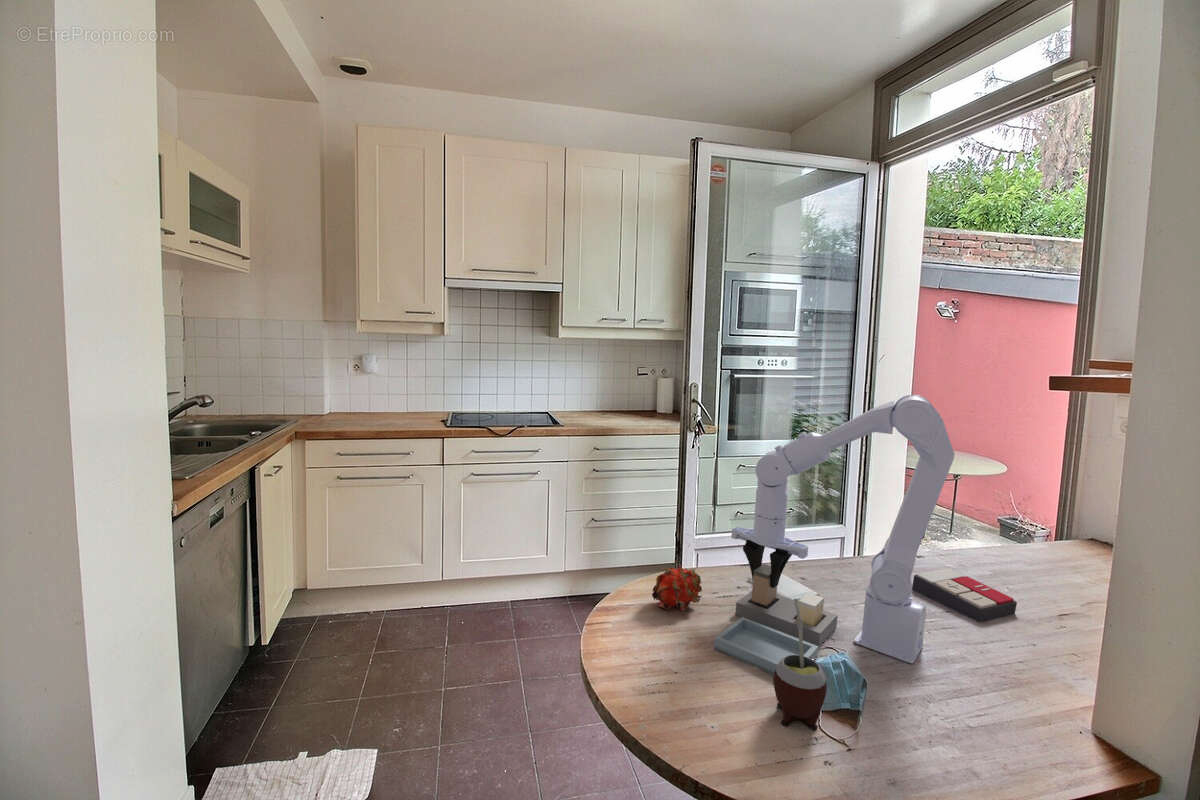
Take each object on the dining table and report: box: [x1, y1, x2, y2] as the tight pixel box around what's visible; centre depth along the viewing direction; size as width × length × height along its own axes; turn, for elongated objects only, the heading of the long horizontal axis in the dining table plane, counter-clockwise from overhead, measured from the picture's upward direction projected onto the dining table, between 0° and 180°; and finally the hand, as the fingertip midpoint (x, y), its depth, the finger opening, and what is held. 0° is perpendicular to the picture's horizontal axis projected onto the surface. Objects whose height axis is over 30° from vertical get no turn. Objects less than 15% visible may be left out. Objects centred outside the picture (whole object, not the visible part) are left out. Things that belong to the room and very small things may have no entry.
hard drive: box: [747, 573, 820, 601], centre depth 122 cm, size 2×8×12 cm
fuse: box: [797, 593, 825, 627], centre depth 105 cm, size 3×4×6 cm, turn 140°
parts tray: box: [713, 617, 819, 676], centre depth 97 cm, size 14×10×2 cm
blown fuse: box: [751, 563, 777, 607], centre depth 110 cm, size 3×4×6 cm, turn 140°
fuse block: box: [735, 590, 838, 648], centre depth 108 cm, size 16×9×2 cm, turn 49°
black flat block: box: [911, 568, 1018, 623], centre depth 119 cm, size 11×4×15 cm
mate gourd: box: [772, 599, 828, 732], centre depth 81 cm, size 8×8×15 cm
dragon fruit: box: [651, 564, 703, 612], centre depth 112 cm, size 8×8×12 cm
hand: (765, 583), depth 110 cm, fingers closed on blown fuse, 3 cm apart
